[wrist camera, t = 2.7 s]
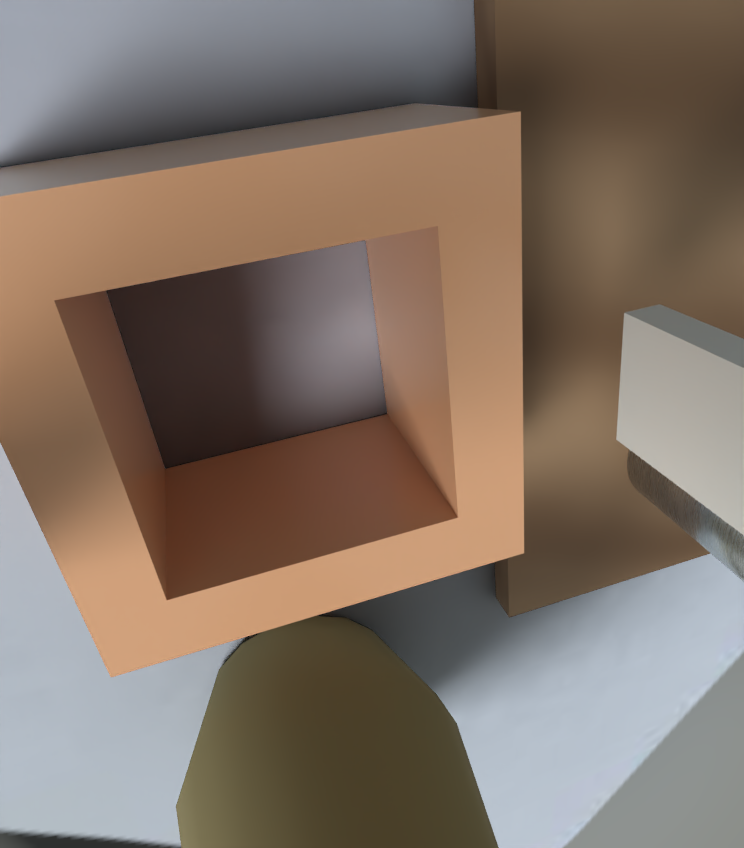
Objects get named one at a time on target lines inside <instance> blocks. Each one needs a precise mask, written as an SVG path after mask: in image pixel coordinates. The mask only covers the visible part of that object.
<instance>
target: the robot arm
mask: <svg viewBox="0 0 744 848" xmlns="http://www.w3.org/2000/svg"><path fill="white" fill-rule="evenodd" d="M616 440H617V441H619V442H620V443H621V444H623V445H624V446H625V447H627V448H628V449H629V450H631V451H632V452H633V453H635V454H636V455H637V456H639V457H640V458H641V459H643V460H644V461H645V462H647V463H648V464H649V465H651V466H652V467H653V468H655V469H656V470H657V471H659V472H660V473H661V474H663V475H664V476H665V477H667V478H668V479H669V480H671V481H672V482H673V483H675V484H676V485H677V486H679V487H680V488H681V489H683V490H684V491H685V492H687V493H688V494H689V495H691V496H692V497H693V498H695V499H696V500H697V501H699V502H700V503H701V504H703V505H704V506H705V507H707V508H708V509H709V510H711V511H712V512H713V513H715V514H716V515H717V516H719V517H720V518H721V519H723V520H724V521H725V522H727V523H728V524H729V525H731V526H732V527H733V528H735V529H736V530H737V531H739V532H740V533H741V534H743V535H744V339H742V338H740V337H738V336H735V335H733V334H730V333H728V332H726V331H723V330H721V329H718V328H716V327H713V326H711V325H709V324H706V323H704V322H701V321H699V320H697V319H694V318H692V317H689V316H687V315H684V314H682V313H680V312H677V311H675V310H672V309H670V308H668V307H665V306H663V305H660V304H659V305H655V306H651V307H646V308H642V309H638V310H634V311H629V312H625V313H624V324H623V340H622V356H621V372H620V388H619V404H618V420H617V436H616Z"/></svg>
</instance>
